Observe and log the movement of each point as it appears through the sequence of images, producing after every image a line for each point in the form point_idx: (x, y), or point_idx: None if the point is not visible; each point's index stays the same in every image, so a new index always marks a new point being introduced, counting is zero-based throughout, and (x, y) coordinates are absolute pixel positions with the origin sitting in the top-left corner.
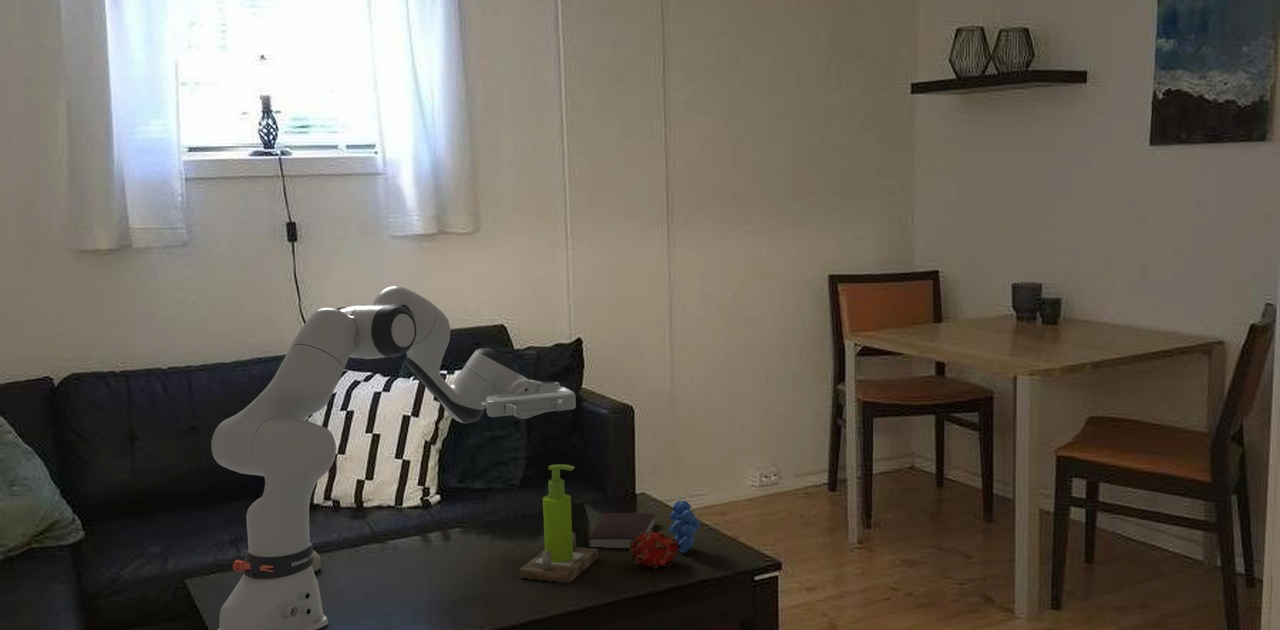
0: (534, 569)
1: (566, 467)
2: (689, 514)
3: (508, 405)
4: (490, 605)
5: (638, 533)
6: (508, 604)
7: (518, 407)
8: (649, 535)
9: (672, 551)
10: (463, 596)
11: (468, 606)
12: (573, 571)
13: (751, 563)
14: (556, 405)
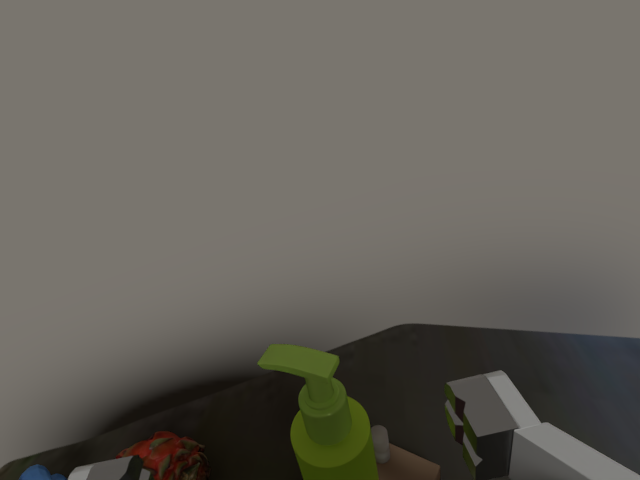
0: (407, 456)
1: (285, 344)
2: (38, 465)
3: (611, 461)
4: (471, 365)
5: (169, 465)
6: (442, 365)
7: (470, 378)
8: (160, 438)
9: None
10: (533, 403)
11: (507, 365)
12: None
13: (21, 472)
14: (138, 464)
